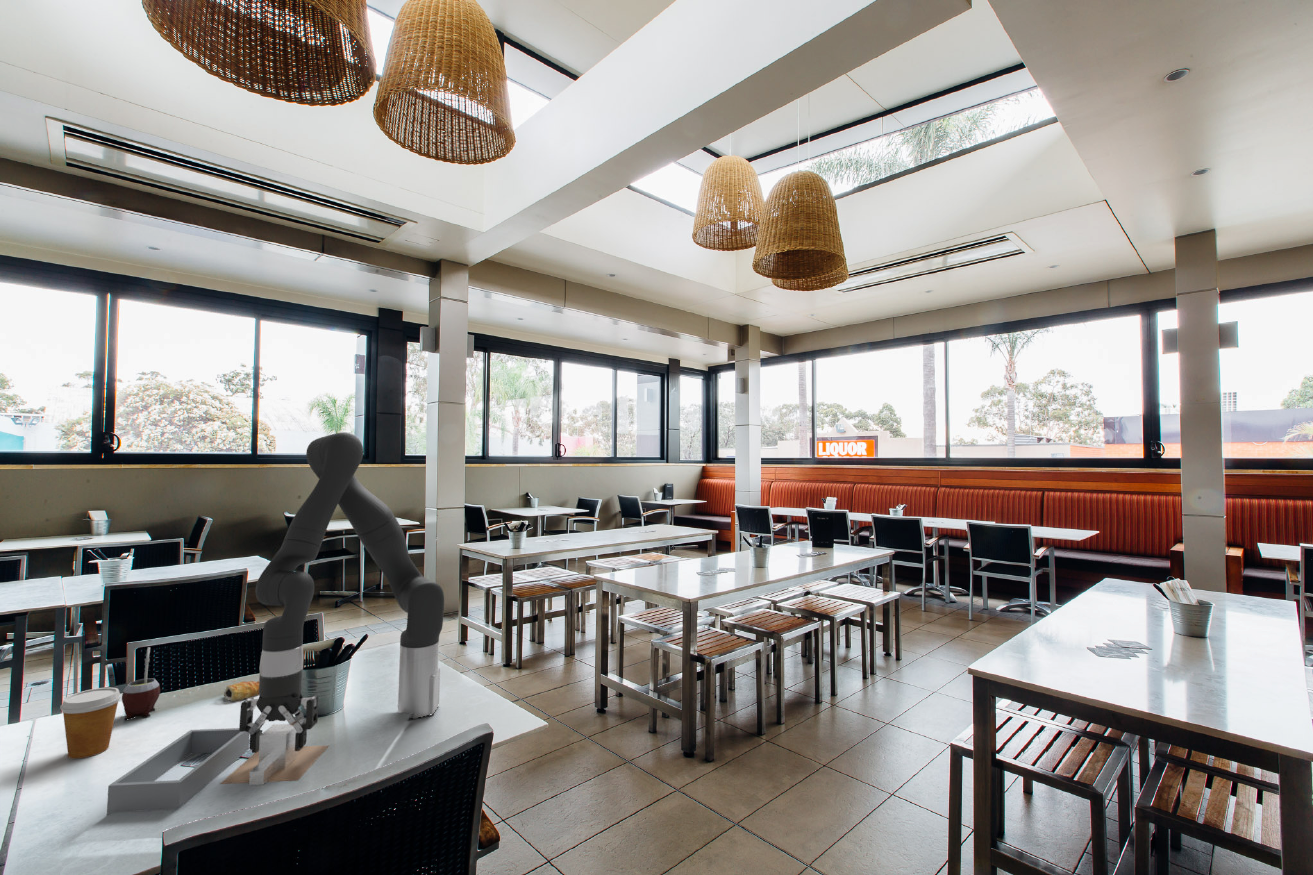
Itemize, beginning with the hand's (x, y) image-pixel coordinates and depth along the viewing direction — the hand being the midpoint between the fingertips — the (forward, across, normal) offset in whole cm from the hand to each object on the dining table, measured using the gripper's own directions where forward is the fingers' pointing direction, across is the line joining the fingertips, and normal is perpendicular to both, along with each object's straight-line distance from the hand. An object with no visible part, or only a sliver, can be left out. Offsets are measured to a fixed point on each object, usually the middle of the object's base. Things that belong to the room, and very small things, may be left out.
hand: (277, 750), depth 120 cm
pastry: (+5, +29, -41) cm, 51 cm away
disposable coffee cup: (+4, +44, -12) cm, 46 cm away
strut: (+3, 0, 0) cm, 3 cm away
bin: (+4, +15, +4) cm, 16 cm away
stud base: (+4, 0, 0) cm, 4 cm away
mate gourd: (+4, +47, -31) cm, 56 cm away
